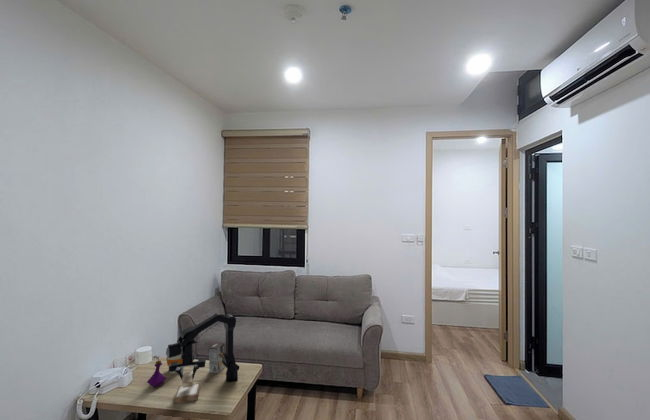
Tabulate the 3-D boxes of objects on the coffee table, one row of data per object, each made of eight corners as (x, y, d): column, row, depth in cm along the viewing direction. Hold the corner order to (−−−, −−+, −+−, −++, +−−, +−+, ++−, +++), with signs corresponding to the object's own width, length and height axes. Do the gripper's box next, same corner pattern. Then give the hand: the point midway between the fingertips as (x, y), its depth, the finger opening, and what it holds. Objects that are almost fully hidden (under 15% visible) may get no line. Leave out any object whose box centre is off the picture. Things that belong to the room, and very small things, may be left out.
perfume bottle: (166, 383, 186) (166, 354, 186) (155, 390, 179) (155, 359, 179) (158, 380, 189) (158, 351, 189) (147, 387, 182) (146, 357, 182)
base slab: (200, 388, 180) (200, 382, 180) (197, 399, 169) (197, 394, 169) (178, 391, 177) (178, 386, 177) (174, 403, 166) (174, 398, 166)
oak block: (193, 381, 176) (193, 371, 176) (192, 386, 172) (192, 375, 172) (184, 383, 175) (183, 372, 175) (182, 388, 170) (182, 377, 170)
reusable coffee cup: (181, 375, 195) (181, 351, 195) (162, 375, 195) (161, 351, 196) (190, 365, 208) (190, 343, 208) (172, 365, 208) (172, 343, 208)
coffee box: (216, 365, 207) (216, 341, 207) (225, 366, 206) (225, 342, 206) (209, 372, 198) (208, 347, 198) (217, 373, 197) (217, 348, 197)
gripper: (206, 344, 184) (206, 370, 183) (172, 348, 179) (173, 375, 178) (204, 352, 173) (204, 379, 173) (168, 357, 168) (168, 385, 168)
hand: (188, 379), depth 173 cm, fingers closed on oak block, 5 cm apart
